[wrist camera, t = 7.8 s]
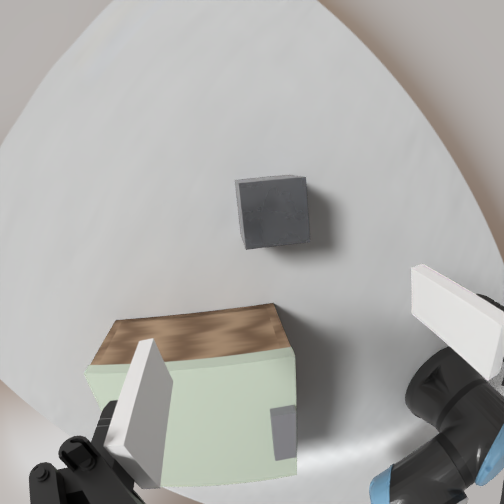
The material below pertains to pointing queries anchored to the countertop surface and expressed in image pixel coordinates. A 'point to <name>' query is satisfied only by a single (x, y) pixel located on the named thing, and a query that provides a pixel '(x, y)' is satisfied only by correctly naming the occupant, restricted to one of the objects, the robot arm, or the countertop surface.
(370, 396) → the countertop surface
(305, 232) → the block
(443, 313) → the robot arm
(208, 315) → the storage box
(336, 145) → the countertop surface
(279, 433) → the lid
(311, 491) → the countertop surface
